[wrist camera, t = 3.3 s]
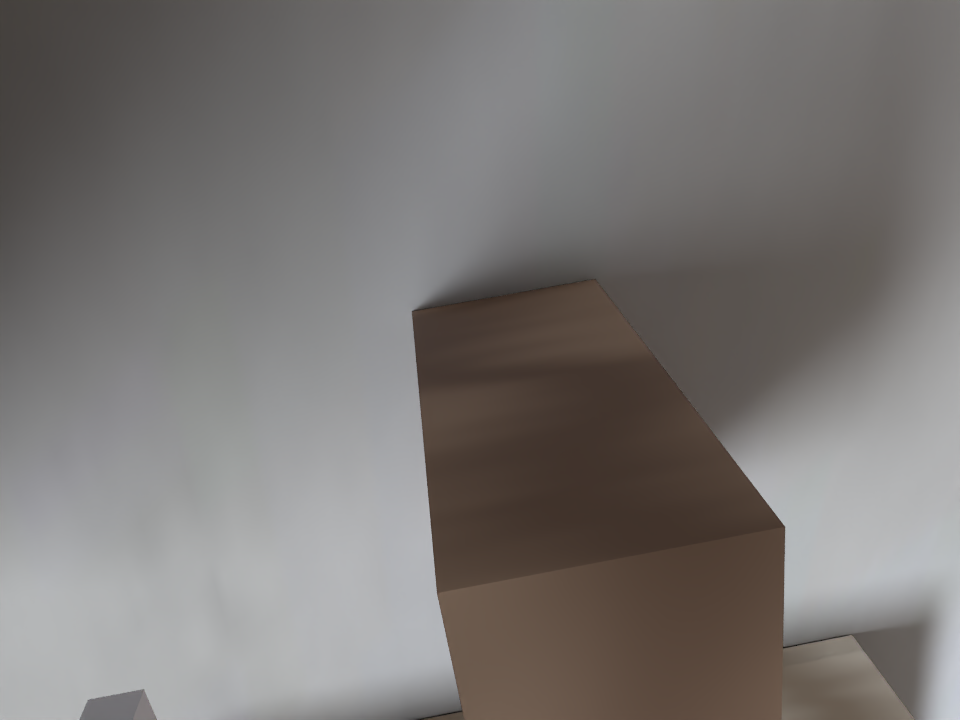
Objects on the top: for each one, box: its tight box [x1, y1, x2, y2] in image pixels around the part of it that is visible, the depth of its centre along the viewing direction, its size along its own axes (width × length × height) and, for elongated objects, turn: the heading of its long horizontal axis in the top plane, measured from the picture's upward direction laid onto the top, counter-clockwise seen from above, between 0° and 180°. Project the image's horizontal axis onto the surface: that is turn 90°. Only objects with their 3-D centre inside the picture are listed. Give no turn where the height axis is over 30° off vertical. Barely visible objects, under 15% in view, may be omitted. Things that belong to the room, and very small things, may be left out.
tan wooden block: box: [412, 279, 785, 720], centre depth 14 cm, size 4×6×9 cm, turn 8°
